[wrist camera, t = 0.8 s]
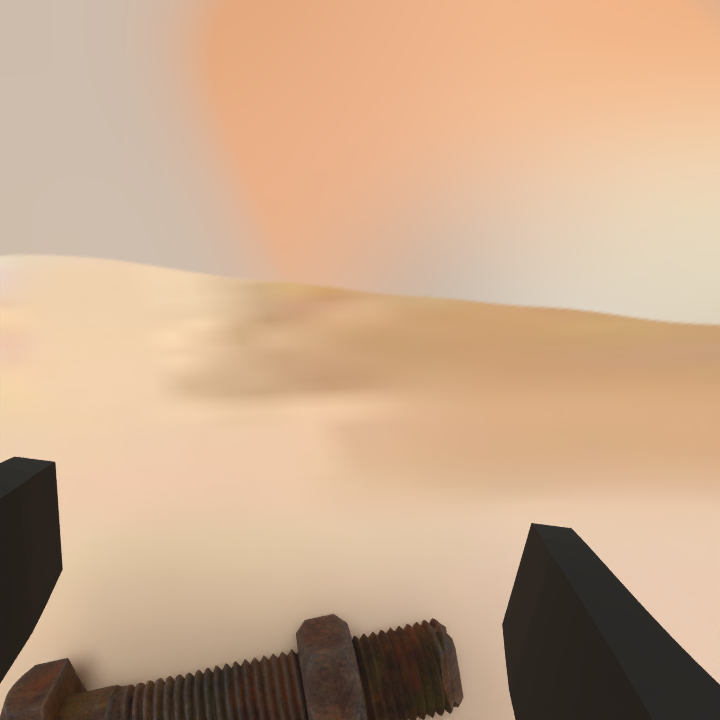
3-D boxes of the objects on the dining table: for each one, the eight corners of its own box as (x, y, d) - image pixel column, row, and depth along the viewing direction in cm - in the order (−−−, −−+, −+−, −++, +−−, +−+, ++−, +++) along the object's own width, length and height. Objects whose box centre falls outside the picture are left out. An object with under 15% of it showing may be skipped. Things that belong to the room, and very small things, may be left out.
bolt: (439, 682, 28) (61, 770, 25) (423, 566, 27) (36, 646, 25) (488, 780, 22) (6, 905, 20) (468, 636, 21) (-28, 748, 19)
